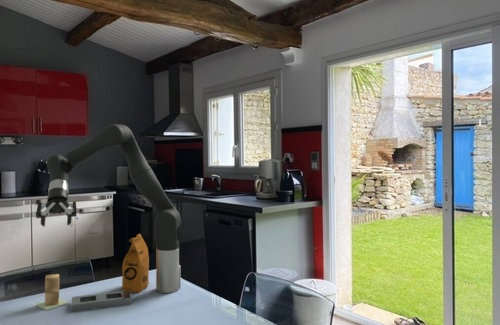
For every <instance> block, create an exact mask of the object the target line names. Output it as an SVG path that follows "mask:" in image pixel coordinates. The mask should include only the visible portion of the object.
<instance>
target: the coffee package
mask: <svg viewBox="0 0 500 325" xmlns="http://www.w3.org/2000/svg"><path fill="white" fill-rule="evenodd" d="M128 242H130V243H131V245H130V247H129V250H128V252H127V253H126V254H125V256H124V259H123V262H122V265H121V266H122V267H121V268H122V280H121V281H122V283H121V290H122V291H127V290H128V292H129V293H134V294H135V293H142V292H143V291H144V289H147V288H148V286H149V284H150V283H149V282H150V281H149V270H150V257H149V249H148V246H147V243H146V242H145V240H144V238H143V236H142V235H141V233H138V234H136V236H135V237H131V238H129V240H128Z"/></svg>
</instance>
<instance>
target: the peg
mask: <svg viewBox="0 0 500 325" xmlns="http://www.w3.org/2000/svg"><path fill="white" fill-rule="evenodd" d="M44 279H45V280H44V284H45V285H44V301H45V306H49V305H57V304H59V299H60V273H56V274H54V273H53V274H46V275H45V278H44Z"/></svg>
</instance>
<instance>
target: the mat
mask: <svg viewBox="0 0 500 325" xmlns="http://www.w3.org/2000/svg"><path fill="white" fill-rule="evenodd" d="M66 305H69V302H68V301H66V300H63V299H61V298H59V304H57V305H49V306H45V300H44V301H42V302H39V303H35V306H36V307H37V308H40V309H42V310H45V311H50V310H54V309H56V308H60V307H63V306H66Z"/></svg>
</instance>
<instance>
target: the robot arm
mask: <svg viewBox="0 0 500 325" xmlns="http://www.w3.org/2000/svg"><path fill="white" fill-rule="evenodd" d="M111 147H118V148H120V150H121V151H122V153H123V155H124V156H125V158H126V162H127V168H128V175H129V177H130V179H131V181H132V183H133V184H134V186H135V187H136V190H137V191H138V192H139V193H140V194H141V195H142V196H143V197H144V198H145V199H146V200H147V201H148V202H149V203H150V204H151V205H152V207H153V209H154V210H155V212H156V214H157V215H156V216H155V219H154V242H155V245H156V248H155V249H156V250H155V251H156V253H155V254H156V255H155V256H156V261H155V262H156V265H155V270H156V273H155V278H156V279H155V287H156V288H155V291H156V292H158V293H159V294H170V293H175V292H177V291H179V289H181V283H182V282H181V281H182V280H181V279H182V278H181V274H182V273H181V271H182V268H181V265H180V241H179V240H178V236H177V234H178V232H177V231H178V230H177V229H178V228H179V227H180V226H181V223H182V217H181V215H180V212H179V211H178V209H177V208H176V207H175V206H174V204H173V203H172V202H171V201H170V199H169V198H168V196H167V194H166V193H165V190H164V189H163V187H162V185H161V183H160V181H159V180H158V178H157V176H156V174H155V172H154V171H153V169H152V167H151V166H150V165H149V163H148V161H147V159H146V157H145V156H144V154H143V153H142V151H141V149H140V147H139V145H138V142H137V140H136V138H135V136H134V134H133V131H132V130H131V129H130V128H129V127H128V126H127V125H125V124H117V123H115V124H110V125H109V124H108V126H106V127H105V128H104V129H102V130H101V131H100V132H98V133H97V134H96V135H94V136H92V138H90V139H88V140H87V141H85V142H84V143H82V144H80V145H78V146H76V147H74V148H72V149H70V150H69V151H67V152H66V153H65V157H64V156H63V155H61V154H60V153H59V154H58V153H54V154H53V153H52V154H51V155H50V156H49V158H47V162H46V168H47V170H48V171H47V172H48V176H49V185H48V192H47V199H46V200H47V201H46V203H42V202H41V201H40V202H38V203H37V207H36V211H35V214H36V215H35V216H36V219H40V225H41V226H42V227H46V219H47V217H49V216H50V215H51V214H53V215H56V214H57V215H58V214H59V215H60V214H64V216H66V217H67V221H66V223H67V224H66V225H67V226H70V225H71V224H72V219H73V217H74V218H75V217H78V216H77V215H78V214H77V202H76V201H75V200H74V201H73V202H69V193H70V192H69V174H71V173H72V172H73V171H74V170H75V169H76V167H78V166H79V165H81V164H82V163H84V162H86V161H89V160H90V159H91V158H93V157H95V155H96V154H97V153H98V152H100V151H102V150H104V149H107V148H111ZM69 207H70V209H72V211H70V210H69ZM44 208H45V210H44ZM42 210H44V211H43V212H42Z"/></svg>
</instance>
